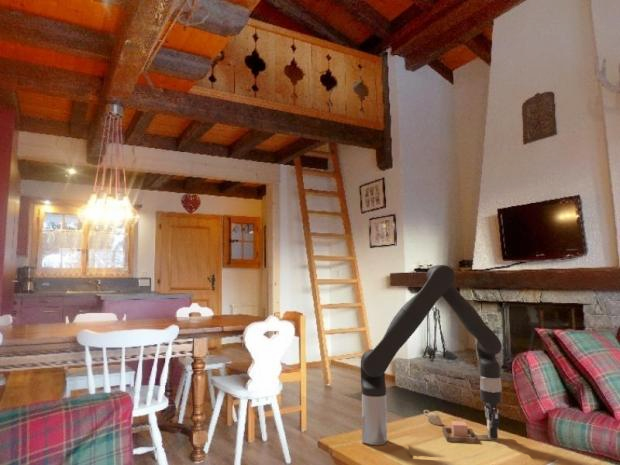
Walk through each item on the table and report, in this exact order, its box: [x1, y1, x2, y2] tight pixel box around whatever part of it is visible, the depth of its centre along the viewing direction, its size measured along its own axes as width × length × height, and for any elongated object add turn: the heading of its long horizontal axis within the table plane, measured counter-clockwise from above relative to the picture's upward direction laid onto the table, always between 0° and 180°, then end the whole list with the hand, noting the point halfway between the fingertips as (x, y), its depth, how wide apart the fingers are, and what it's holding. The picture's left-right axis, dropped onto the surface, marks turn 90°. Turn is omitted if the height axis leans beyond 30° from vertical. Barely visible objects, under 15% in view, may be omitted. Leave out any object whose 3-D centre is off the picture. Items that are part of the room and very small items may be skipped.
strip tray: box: [441, 420, 500, 444], centre depth 164 cm, size 19×11×7 cm, turn 82°
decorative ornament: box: [423, 409, 443, 426], centre depth 182 cm, size 4×8×5 cm, turn 29°
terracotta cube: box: [450, 420, 468, 437], centre depth 165 cm, size 5×5×5 cm
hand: (492, 435), depth 163 cm, fingers closed on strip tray, 3 cm apart
